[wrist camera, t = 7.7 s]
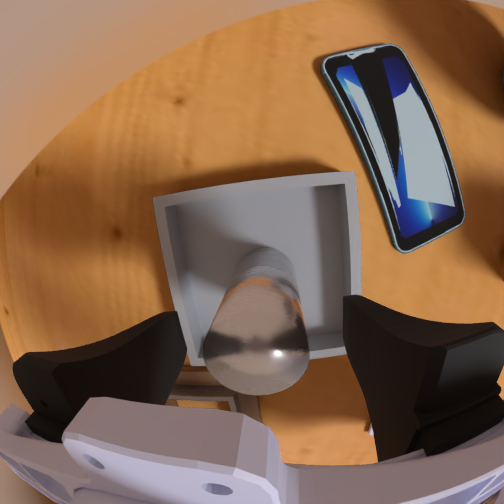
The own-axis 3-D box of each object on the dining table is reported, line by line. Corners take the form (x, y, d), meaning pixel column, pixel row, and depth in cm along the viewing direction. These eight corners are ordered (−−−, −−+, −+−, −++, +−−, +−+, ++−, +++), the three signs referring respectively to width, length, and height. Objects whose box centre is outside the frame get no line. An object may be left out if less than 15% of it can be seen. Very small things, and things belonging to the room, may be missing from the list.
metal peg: (296, 247, 18) (315, 312, 9) (293, 304, 19) (304, 395, 10) (234, 246, 18) (197, 308, 9) (236, 302, 19) (207, 391, 10)
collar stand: (251, 364, 21) (249, 382, 19) (264, 435, 23) (263, 452, 21) (143, 364, 22) (133, 379, 20) (174, 432, 24) (168, 446, 22)
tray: (343, 172, 17) (354, 170, 14) (350, 333, 20) (358, 352, 17) (167, 195, 18) (152, 197, 16) (199, 347, 21) (191, 365, 18)
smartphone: (397, 258, 18) (315, 59, 14) (392, 254, 18) (313, 64, 15) (468, 222, 16) (398, 41, 13) (461, 220, 17) (394, 46, 14)
